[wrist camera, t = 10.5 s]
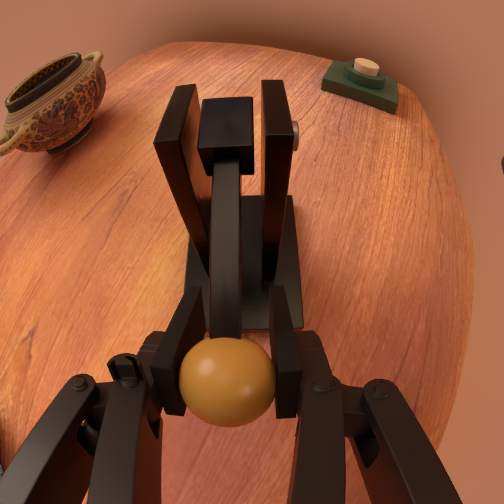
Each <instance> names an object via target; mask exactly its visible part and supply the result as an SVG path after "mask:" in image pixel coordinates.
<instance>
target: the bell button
mask: <svg viewBox="0 0 504 504" xmlns="http://www.w3.org/2000/svg"><path fill="white" fill-rule="evenodd" d="M354 69H355V70H356V71H358V72H360V73H362V74H365V75H368V76H374V77H376V76H377V74H378V70H379V66H378V65H377V64H376V63H374V62H372V61H370V60H367V59H363V58H357V59H356V60H355V63H354Z"/></svg>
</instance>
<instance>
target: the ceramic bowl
mask: <svg viewBox="0 0 504 504" xmlns="http://www.w3.org/2000/svg"><path fill="white" fill-rule="evenodd" d="M102 59H103V54H102V53H101V52H99V51H98V52H93V53H90V54H88V55H86V56H84V57H83V58H81V55H80V54H79V53H72V54H68V55H65V56H63V57H60V58H58V59H56V60H53V61H52V62H50V63H48V64H46V65H44V66H43V67H41V68H40V69H38V70H37V71H35V72H34V73H32V74H31V75H30V76H29V77H27V78H26V79H25V80H24V81H22V82H21V83H20V84H19V85H18V86H17V87H16V88H15V89H14V90H13V91H12V92H11V93H10V95H9V96H8V97H7V99H6V101H5V105H6V107H7V109H8V114H7V116H6V119H5V123H4V132H3V134H2V135H1V137H0V156H4V155H6V154H8V153H10V152H11V151H13V150H14V149H15V148H17V149H18V150H21V151H24V152H42V151H47V152H48V153H49V154H50V155H57V154H60V153H62V152H65V151H67V150H68V149H70V148H71V147H73V146H74V145H76V144H77V143H79V142H80V141H81V140H82V139H83V138H84V137H85V136H86V135H87V134H88V132H89V131H90V129H91V128H92V126H93V121H94V119H93V116H94V114H95V113H96V111H97V109H98V108H99V106H100V104H101V101H102V99H103V96H104V92H105V87H106V80H105V75H104V71H103V70H102V68H101V67H100V64H101V61H102Z"/></svg>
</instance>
